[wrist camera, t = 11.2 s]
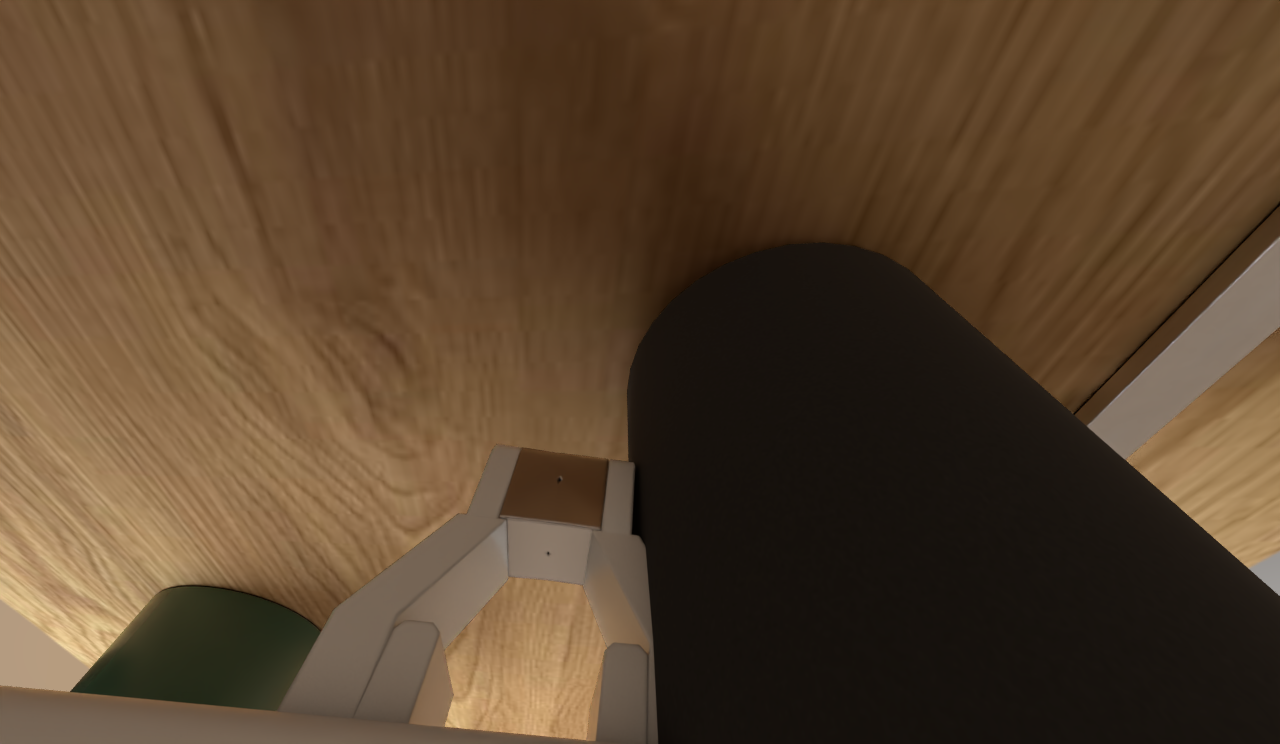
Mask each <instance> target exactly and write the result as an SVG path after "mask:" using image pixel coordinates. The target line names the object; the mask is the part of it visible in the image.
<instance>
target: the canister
mask: <svg viewBox="0 0 1280 744" xmlns="http://www.w3.org/2000/svg"><path fill="white" fill-rule="evenodd" d="M320 633H321V632H320V630H319V629H318V628H317V627H316V626H315V625H313V624H312V623H311V622H309V621H308V620H307V619H305V618H303V617H302V616H300V615H299V614H297V613H295V612H293V611H291V610H289V609H287V608H285V607H283V606H280V605H278V604H275V603H273V602H270V601H268V600H265V599H262V598H259V597H255V596H252V595H248V594H245V593H240V592H236V591H231V590H226V589H220V588H212V587H201V586H184V587H175V588H170V589H166V590H163V591H161V592H160V593H158V594H156V595H155V596H154V597H153V598H152V599H151V600H150V601H149V603H148V604H147V605H146V606H145V607H144V608H143V609H142V611H141V612H140V613H139V614H138V615H137V616H136V617H135V619H134V620H133V621H132V622H131V623H130V624H129V625H128V626H127V628H126V629H125V630H124V631H123V632H122V633H121V634H120V636H119V637H118V638H117V639H116V640H115V641H114V642H113V643H112V645H111V646H110V647H109V648H108V649H107V650H106V651H105V653H104V654H103V655H102V656H101V657H100V658H99V659H98V661H97V662H96V663H95V664H94V665H93V666H92V667H91V668H90V670H89V671H88V672H87V673H86V674H85V675H84V676H83V678H82V679H81V680H80V681H79V682H78V683H77V684H76V686H75V687H74V688H73V689H72V690H71V691H70V692H75V693H86V694H97V695H107V696H118V697H129V698H139V699H150V700H161V701H172V702H182V703H193V704H204V705H214V706H225V707H236V708H247V709H257V710H268V711H277V710H278V708H279V706H280V704H281V702H282V701H283V699H284V697H285V695H286V693H287V692H288V690H289V688H290V686H291V685H292V683H293V681H294V679H295V677H296V676H297V674H298V672H299V670H300V668H301V667H302V665H303V663H304V661H305V660H306V658H307V656H308V654H309V652H310V651H311V649H312V647H313V645H314V643H315V642H316V640H317V638H318V636H319V635H320Z"/></svg>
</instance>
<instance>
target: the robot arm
mask: <svg viewBox="0 0 1280 744" xmlns="http://www.w3.org/2000/svg"><path fill="white" fill-rule="evenodd" d="M634 483H635V464H634V462H627V461H619V460H612V459H610V460H609V459H606V458H598V457H590V456H581V455H573V454H565V453H555V452H549V451H542V450H536V449H530V448H522V447H515V446H508V445H502V444H496V445H495V446H494V448H493V449H492V451H491V453H490V456H489V458H488V461H487V463H486V466H485V468H484V471H483V473H482V476H481V479H480V481H479V484H478V486H477V489H476V491H475V494H474V496H473V499H472V501H471V504H470V506H469V509H468V511H467V514H459V513H458V514H457V515H456V516H454V517H453V518H452V519H450V520H449V521H448V522H446V523H445V524H444V525H443V526H441V527H440V528H439V529H437V530H436V531H435V532H433V533H432V534H431V535H429V536H428V537H427V538H426V539H424V540H423V541H422V542H420V543H419V544H418V545H416V546H415V547H414V548H413V549H411V550H410V551H409V552H407V553H406V554H405V555H403V556H402V557H401V558H400V559H398V560H397V561H396V562H394V563H393V564H392V565H390V566H389V567H388V568H386V569H385V570H384V571H383V572H381V573H380V574H379V575H377V576H376V577H375V578H373V579H372V580H371V581H370V582H368V583H367V584H366V585H364V586H363V587H362V588H360V589H359V590H358V591H357V592H355V593H354V594H353V595H351V596H350V597H349V598H347V599H346V600H345V601H343V602H342V603H341V604H340V605H338V606H337V607H336V608H334V610H333V611H332V613H331V615H330V617H329V618H328V620H327V622H326V624H325V626H324V627H323V629H322V631H321V633H320V635H319V636H318V638H317V640H316V642H315V643H314V645H313V647H312V649H311V651H310V652H309V654H308V656H307V658H306V660H305V661H304V663H303V665H302V667H301V668H300V670H299V672H298V674H297V676H296V677H295V679H294V681H293V683H292V685H291V686H290V688H289V690H288V692H287V693H286V695H285V697H284V699H283V701H282V702H281V704H280V706H279V708H278V710H277V711H268V710H257V709H247V708H236V707H225V706H214V705H204V704H193V703H182V702H172V701H161V700H150V699H139V698H129V697H118V696H107V695H97V694H86V693H75V692H65V691H53V690H43V689H32V688H22V687H11V686H0V744H658V730H657V709H656V689H655V668H654V648H653V633H652V621H651V608H650V596H649V584H648V571H647V559H646V547H645V544H644V543H643V541H642V539H641V538H640V536H637V535H632V520H633V501H634ZM508 577H518V578H530V579H541V580H550V581H557V582H564V583H571V584H578V585H584V586H583V588H584V591H585V593H586V596H587V598H588V601H589V603H590V606H591V608H592V611H593V613H594V616H595V618H596V621H597V623H598V626H599V628H600V631H601V634H602V636H603V639H604V641H605V644H606V646H607V649H606V650H605V652H604V656H603V659H602V663H601V667H600V671H599V675H598V678H597V682H596V686H595V690H594V694H593V697H592V701H591V705H590V711H589V720H588V729H587V738H586V740H578V739H568V738H557V737H546V736H536V735H525V734H514V733H503V732H493V731H482V730H471V729H461V728H450V727H444V726H445V722H446V719H447V716H448V712H449V709H450V705H451V702H452V698H453V695H454V694H453V689H452V685H451V680H450V676H449V671H448V666H447V662H446V657H445V653H444V650H445V649H446V648H447V647H448V646H449V645H450V644H451V642H452V641H453V640H454V639H455V638H456V637H457V636H458V635H459V634H460V632H461V631H462V630H463V629H464V628H465V627H466V626H467V625H468V624H469V622H470V621H471V620H472V619H473V618H474V617H475V616H476V615H477V614H478V612H479V611H480V610H481V609H482V608H483V607H484V606H485V605H486V604H487V602H488V601H489V600H490V599H491V598H492V597H493V596H494V595H495V594H496V592H497V591H498V590H499V589H500V588H501V587H502V586H503V585H504V584H505V583H506V581H507V580H508Z"/></svg>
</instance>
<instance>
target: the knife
mask: <svg viewBox="0 0 1280 744" xmlns="http://www.w3.org/2000/svg"><path fill="white" fill-rule="evenodd" d="M1279 327H1280V206H1279V207H1278V208H1277V209H1276V210H1275V211H1274V212H1273V213H1272V214H1271V215H1270V216H1269V217H1268V218H1267V219H1266V220H1265V221H1264V222H1263V223H1262V224H1261V225H1260V226H1259V227H1258V228H1257V229H1256V230H1255V231H1254V232H1253V233H1252V234H1251V235H1250V236H1249V237H1248V238H1247V239H1246V240H1245V241H1244V242H1243V243H1242V244H1241V245H1240V246H1239V247H1238V249H1237V250H1236V251H1235V252H1234V253H1233V254H1232V255H1231V256H1230V257H1229V258H1228V259H1227V260H1226V261H1225V262H1224V263H1223V264H1222V265H1221V266H1220V267H1219V268H1218V269H1217V270H1216V271H1215V272H1214V273H1213V274H1212V275H1211V276H1210V277H1209V278H1208V279H1207V280H1206V281H1205V282H1204V283H1203V284H1202V285H1201V286H1200V287H1199V288H1198V289H1197V290H1196V291H1195V292H1194V293H1193V294H1192V295H1191V297H1190V298H1189V299H1188V300H1187V301H1186V302H1185V303H1184V304H1183V305H1182V306H1181V307H1180V308H1179V309H1178V310H1177V311H1176V312H1175V313H1174V314H1173V315H1172V316H1171V317H1170V318H1169V319H1168V320H1167V321H1166V322H1165V323H1164V324H1163V325H1162V326H1161V327H1160V328H1159V329H1158V330H1157V331H1156V332H1155V333H1154V334H1153V335H1152V336H1151V337H1150V338H1149V339H1148V340H1147V341H1146V342H1145V343H1144V344H1143V346H1142V347H1141V348H1140V349H1139V350H1138V351H1137V352H1136V353H1135V354H1134V355H1133V356H1132V357H1131V358H1130V359H1129V360H1128V361H1127V362H1126V363H1125V364H1124V365H1123V366H1122V367H1121V368H1120V369H1119V370H1118V371H1117V372H1116V373H1115V374H1114V375H1113V376H1112V377H1111V378H1110V379H1109V380H1108V381H1107V382H1106V383H1105V384H1104V385H1103V386H1102V387H1101V388H1100V389H1099V390H1098V391H1097V392H1096V394H1095V395H1094V396H1093V397H1092V398H1091V399H1090V400H1089V401H1088V402H1087V403H1086V404H1085V405H1084V406H1083V407H1082V408H1081V409H1080V410H1079V411H1078V412H1077V413H1076V414H1075V416H1076V417H1077V418H1078V419H1079V420H1080V421H1081V422H1083V423H1084V424H1085V425H1086V426H1087V427H1088V428H1089V429H1091V430H1092V431H1093V432H1094V433H1095V434H1096V435H1097V436H1098V437H1100V438H1101V439H1102V440H1103V441H1104V442H1105V443H1106V444H1108V445H1109V446H1110V447H1111V448H1112V449H1113V450H1114V451H1116V452H1117V453H1118V454H1119V455H1120V456H1121V457H1122V458H1123V459H1125V460H1126V459H1127V458H1128V457H1129V456H1130V455H1131V454H1133V453H1134V452H1135V451H1136V450H1137V449H1138V448H1140V447H1141V446H1142V445H1143V444H1144V443H1145V442H1147V441H1148V440H1149V439H1150V438H1151V437H1152V436H1153V435H1155V434H1156V433H1157V432H1158V431H1159V430H1160V429H1162V428H1163V427H1164V426H1165V425H1166V424H1167V423H1169V422H1170V421H1171V420H1172V419H1173V418H1174V417H1176V416H1177V415H1178V414H1179V413H1180V412H1181V411H1183V410H1184V409H1185V408H1186V407H1187V406H1188V405H1189V404H1191V403H1192V402H1193V401H1194V400H1195V399H1196V398H1198V397H1199V396H1200V395H1201V394H1202V393H1203V392H1205V391H1206V390H1207V389H1208V388H1209V387H1210V386H1212V385H1213V384H1214V383H1215V382H1216V381H1217V380H1218V379H1220V378H1221V377H1222V376H1223V375H1224V374H1225V373H1227V372H1228V371H1229V370H1230V369H1231V368H1232V367H1234V366H1235V365H1236V364H1237V363H1238V362H1239V361H1241V360H1242V359H1243V358H1244V357H1245V356H1246V355H1248V354H1249V353H1250V352H1251V351H1252V350H1253V349H1254V348H1256V347H1257V346H1258V345H1259V344H1260V343H1261V342H1263V341H1264V340H1265V339H1266V338H1267V337H1268V336H1270V335H1271V334H1272V333H1273V332H1274V331H1275V330H1277V329H1278V328H1279Z"/></svg>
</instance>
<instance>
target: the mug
mask: <svg viewBox="0 0 1280 744" xmlns="http://www.w3.org/2000/svg"><path fill="white" fill-rule="evenodd" d="M627 407H628V458H629V462H634V464H635V483H634V501H633V520H632V535H637V536H640V538H641V539H642V541H643V543H644V544H645V547H646V559H647V571H648V584H649V596H650V608H651V621H652V633H653V648H654V668H655V689H656V709H657V730H658V744H1280V596H1279V595H1278V594H1277V593H1275V592H1274V591H1273V590H1272V589H1271V588H1270V587H1269V586H1267V585H1266V584H1265V583H1264V582H1263V581H1262V580H1261V579H1259V578H1258V577H1257V576H1256V575H1255V574H1254V573H1253V572H1252V571H1251V570H1249V569H1248V568H1247V567H1246V566H1245V565H1244V564H1243V563H1241V562H1240V561H1239V560H1238V559H1237V558H1236V557H1235V556H1233V555H1232V554H1231V553H1230V552H1229V551H1228V550H1227V549H1226V548H1224V547H1223V546H1222V545H1221V544H1220V543H1219V542H1218V541H1216V540H1215V539H1214V538H1213V537H1212V536H1211V535H1210V534H1209V533H1207V532H1206V531H1205V530H1204V529H1203V528H1202V527H1201V526H1199V525H1198V524H1197V523H1196V522H1195V521H1194V520H1193V519H1192V518H1190V517H1189V516H1188V515H1187V514H1186V513H1185V512H1184V511H1182V510H1181V509H1180V508H1179V507H1178V506H1177V505H1176V504H1174V503H1173V502H1172V501H1171V500H1170V499H1169V498H1168V497H1167V496H1165V495H1164V494H1163V493H1162V492H1161V491H1160V490H1159V489H1157V488H1156V487H1155V486H1154V485H1153V484H1152V483H1151V482H1150V481H1148V480H1147V479H1146V478H1145V477H1144V476H1143V475H1142V474H1140V473H1139V472H1138V471H1137V470H1136V469H1135V468H1134V467H1133V466H1131V465H1130V464H1129V463H1128V462H1127V461H1126V460H1125V459H1123V458H1122V457H1121V456H1120V455H1119V454H1118V453H1117V452H1116V451H1114V450H1113V449H1112V448H1111V447H1110V446H1109V445H1108V444H1106V443H1105V442H1104V441H1103V440H1102V439H1101V438H1100V437H1098V436H1097V435H1096V434H1095V433H1094V432H1093V431H1092V430H1091V429H1089V428H1088V427H1087V426H1086V425H1085V424H1084V423H1083V422H1081V421H1080V420H1079V419H1078V418H1077V417H1076V416H1075V415H1073V414H1072V413H1071V412H1070V411H1069V410H1068V409H1067V408H1066V407H1064V406H1063V405H1062V404H1061V403H1060V402H1059V401H1058V400H1056V399H1055V398H1054V397H1053V396H1052V395H1051V394H1050V393H1048V392H1047V391H1046V390H1045V389H1044V388H1043V387H1042V386H1041V385H1039V384H1038V383H1037V382H1036V381H1035V380H1034V379H1033V378H1031V377H1030V376H1029V375H1028V374H1027V373H1026V372H1025V371H1023V370H1022V369H1021V368H1020V367H1019V366H1018V365H1017V364H1015V363H1014V362H1013V361H1012V360H1011V359H1010V358H1009V357H1008V356H1006V355H1005V354H1004V353H1003V352H1002V351H1001V350H1000V349H998V348H997V347H996V346H995V345H994V344H993V343H992V342H990V341H989V340H988V339H987V338H986V337H985V336H984V335H983V334H981V333H980V332H979V331H978V330H977V329H976V328H975V327H973V326H972V325H971V324H970V323H969V322H968V321H967V320H965V319H964V318H963V317H962V316H961V315H960V314H959V313H957V312H956V311H955V310H954V309H953V308H952V307H951V306H950V305H948V304H947V303H946V302H945V301H944V300H943V299H942V298H940V297H939V296H938V295H937V294H936V293H935V292H934V291H932V290H931V289H930V288H929V287H928V286H927V285H926V284H925V283H923V282H922V281H921V280H920V279H919V278H918V277H917V276H915V275H914V274H913V273H912V272H911V271H910V270H909V269H907V268H905V267H904V266H902V265H900V264H898V263H896V262H895V261H893V260H891V259H889V258H888V257H886V256H884V255H882V254H878V253H875V252H872V251H869V250H866V249H862V248H859V247H856V246H849V245H840V244H831V243H807V244H791V245H785V246H781V247H776V248H772V249H768V250H763V251H759V252H755V253H752V254H750V255H747V256H745V257H742V258H740V259H737V260H735V261H732V262H730V263H727V264H725V265H723V266H721V267H719V268H718V269H716V270H714V271H712V272H711V273H709V274H707V275H706V276H704V277H702V278H700V279H699V280H697V281H695V282H694V283H693V284H692V285H691V286H689V287H688V288H687V289H686V290H684V291H683V292H682V293H681V294H679V295H678V296H677V297H676V298H675V299H673V300H672V301H671V302H670V303H669V304H668V306H667V307H666V308H665V309H664V310H663V311H662V312H661V314H660V315H659V316H658V317H657V318H656V319H655V320H654V322H653V323H652V324H651V326H650V328H649V329H648V331H647V333H646V334H645V336H644V338H643V339H642V341H641V343H640V344H639V346H638V349H637V352H636V354H635V357H634V360H633V363H632V365H631V368H630V375H629V382H628V389H627Z"/></svg>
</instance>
